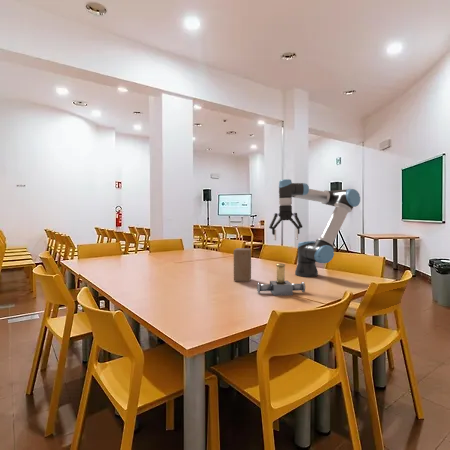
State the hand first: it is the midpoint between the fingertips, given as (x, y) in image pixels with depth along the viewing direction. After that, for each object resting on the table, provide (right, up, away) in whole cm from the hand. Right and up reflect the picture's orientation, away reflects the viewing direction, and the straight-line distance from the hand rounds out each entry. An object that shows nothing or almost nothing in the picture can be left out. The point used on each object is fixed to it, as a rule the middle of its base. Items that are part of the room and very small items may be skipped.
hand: (285, 239), depth 190 cm
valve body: (-7, -27, -24) cm, 37 cm away
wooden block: (-26, -26, +7) cm, 38 cm away
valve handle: (-8, -26, -24) cm, 36 cm away
